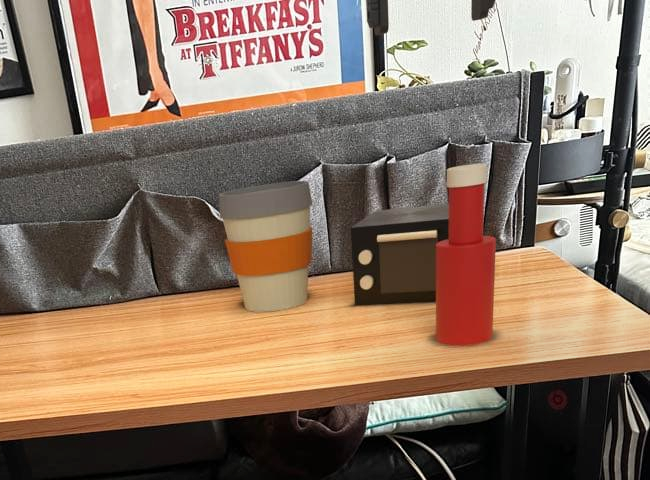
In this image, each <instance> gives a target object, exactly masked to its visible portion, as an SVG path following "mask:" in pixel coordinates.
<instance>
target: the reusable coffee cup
mask: <svg viewBox="0 0 650 480" xmlns="http://www.w3.org/2000/svg"><path fill="white" fill-rule="evenodd" d="M218 206H219V218H220V219H221V220H222V222H223V226H224V230H225V234H226V238H225V240H224V242H225V246H226V250H227V254H228V257H229V258H228V259H229V262H230V265H231V270H232V273H233V274H234V275H236V277H237V281H238V285H239V289H240V292H241V293H240V294H241V297H242V301H243V305H244V308H245V310H247V311H248V312H249V311H250V312H255V313H256V312H257V313H267V312H276V311H277V312H278V311H284V310H288V309H292V308H296V307H299V306H301V305H304V304H306V303H307V301H308V290H309V289H308V283H309V265H310V264H311V263H312V256H313V255H312V254H313V253H312V252H313V251H312V250H313V227H312V226H311V225H310V222H311V206H313V199H312V193H311V187H310V183H309V180H293V181H292V180H291V181H282V182H274V183H267V184H260V185H253V186H248V187H247V186H246V187H242V188H236V189H233V190H228V191H225V192H222V193H219V194H218Z"/></svg>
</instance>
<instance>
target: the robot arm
mask: <svg viewBox="0 0 650 480" xmlns="http://www.w3.org/2000/svg"><path fill="white" fill-rule="evenodd" d="M495 2H496V0H471V4H470V6H471V7H470V9H471V10H470V12H471V14H470V16H471V20H472V22H475V21H481V20H483V19H487V18H488V16H489V13H490V10H492V9H493V8H494V6H495ZM365 6H366V10H365V11H366V23H367V25H368V27H369V29H373V32H374V36H382V35H386V34H388V33H389V30H390V29H389V27H390V21H389V20H390V19H389V0H365Z"/></svg>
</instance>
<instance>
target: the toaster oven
mask: <svg viewBox="0 0 650 480" xmlns="http://www.w3.org/2000/svg"><path fill="white" fill-rule="evenodd" d="M447 239H449V203H441V204H429V205H421V206H420V205H419V206H411V207H399V208H390V209H380V210H375V211H373V212H372V213H370V214H369V215H367V216H365V217H364V218H363V219H362V220H360V221H358V222H357V223H355V224H354V225H353V226H351V227H350V240H351V241H350V243H351V244H350V245H351V259H352V260H351V261H352V276H353V280H352V281H353V295H354V298H353V299H354V307H357V306H376V305H378V306H379V305H396V304H398V305H399V304H417V303H436V244H437V243H438V242H440V241H443V240H447Z"/></svg>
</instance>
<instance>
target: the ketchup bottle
mask: <svg viewBox="0 0 650 480" xmlns="http://www.w3.org/2000/svg"><path fill="white" fill-rule="evenodd" d="M487 182H488V164H487V163H473V164H464V165H457V166H453V167H449V168H447V169H446V188H448V204H449V239H447V240H443V241H440V242H438V243H437V244H436V302H435V341H436V342H437V343H438V344H442V345H445V346H470V345H477V344H481V343H482V344H483V343H485V342H488V341H489V340H491V339H492V338H493V329H494V305H495V303H494V302H495V277H496V276H495V275H496V251H497V249H496V247H497V238H496V237H494V236H492V235H484V217H485V216H484V215H485V183H487Z"/></svg>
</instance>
